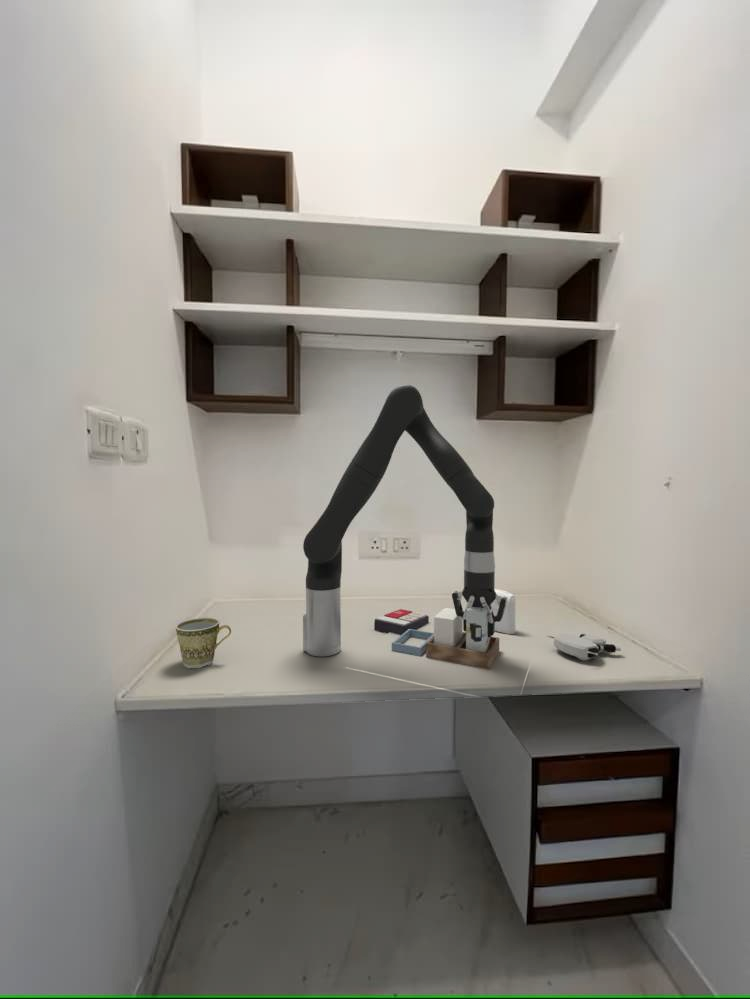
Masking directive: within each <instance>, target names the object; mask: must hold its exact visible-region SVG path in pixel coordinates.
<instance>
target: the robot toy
mask: <svg viewBox="0 0 750 999" xmlns="http://www.w3.org/2000/svg"><path fill="white" fill-rule="evenodd" d="M546 637H547V638H550V639H551V638H552V639H553V646H554V647H555V648H556V649H557V650H559V651H560V652H562V653H564V654H567V655H571V656H573V657H575V658H577V659H578V660H580V661H585V662H586V661H587V660H590V659H592V658H593V659H594V658H597V657H598V656H599V655H600V654H602V653H603V652H604V651H605V652H607V653H616V652H621V651H622V648H621V647H619V646H616V644H609V643H606V642H607V640H606V639H603V638H602V637H601V636H598V635H594V634H585V633H581V634H580V635H579V636H576V635H573V634H567V633H566V634H555V636H551V635H546Z"/></svg>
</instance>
